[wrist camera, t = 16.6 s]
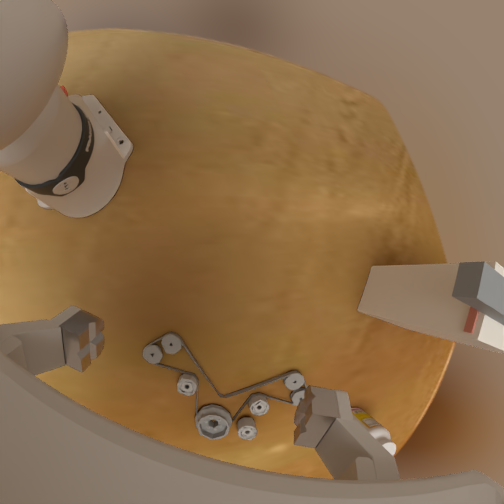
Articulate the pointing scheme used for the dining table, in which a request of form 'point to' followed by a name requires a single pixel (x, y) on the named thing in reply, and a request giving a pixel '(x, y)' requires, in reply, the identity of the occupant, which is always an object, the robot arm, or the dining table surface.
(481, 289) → the bar
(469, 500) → the robot arm
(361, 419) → the supplement bottle
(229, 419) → the pulley system
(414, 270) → the pillar
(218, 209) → the dining table surface
